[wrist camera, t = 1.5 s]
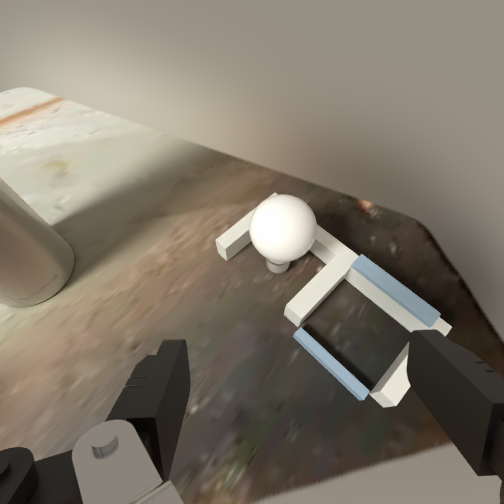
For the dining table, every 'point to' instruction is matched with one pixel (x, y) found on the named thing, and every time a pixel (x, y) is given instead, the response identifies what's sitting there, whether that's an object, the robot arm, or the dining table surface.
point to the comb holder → (366, 281)
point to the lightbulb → (282, 230)
